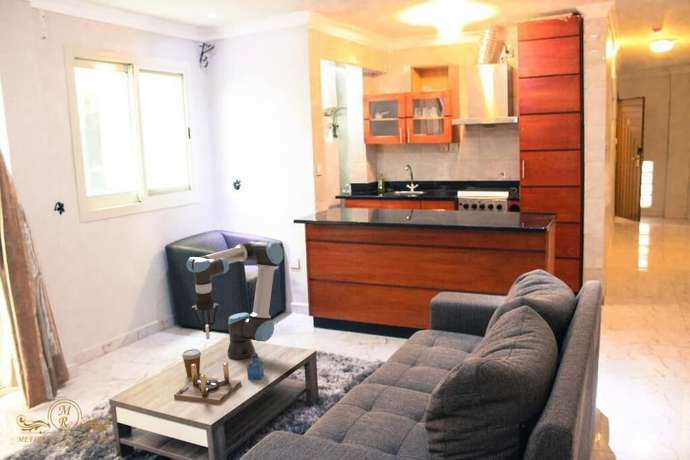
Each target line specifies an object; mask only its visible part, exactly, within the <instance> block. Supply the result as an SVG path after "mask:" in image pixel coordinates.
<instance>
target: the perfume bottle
mask: <svg viewBox="0 0 690 460" xmlns="http://www.w3.org/2000/svg"><path fill="white" fill-rule="evenodd" d="M250 358H251V361H250V362H249V364H248V366H247V368H246V369H247V379H248V380H251V381H260V380H262V379H263V377H264V376H265V371H264V362H262V360H261V359H259V355H258V353H255V354H252V356H251V357H250Z"/></svg>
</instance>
